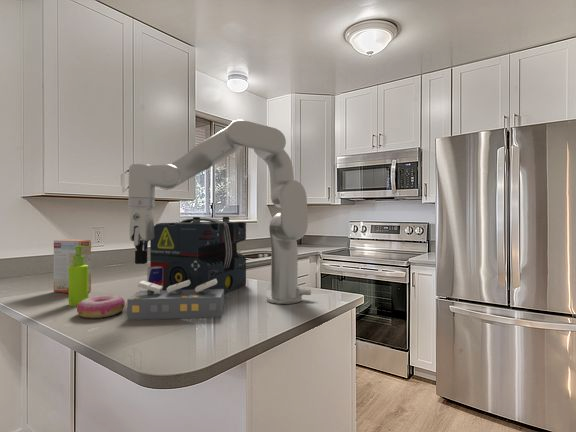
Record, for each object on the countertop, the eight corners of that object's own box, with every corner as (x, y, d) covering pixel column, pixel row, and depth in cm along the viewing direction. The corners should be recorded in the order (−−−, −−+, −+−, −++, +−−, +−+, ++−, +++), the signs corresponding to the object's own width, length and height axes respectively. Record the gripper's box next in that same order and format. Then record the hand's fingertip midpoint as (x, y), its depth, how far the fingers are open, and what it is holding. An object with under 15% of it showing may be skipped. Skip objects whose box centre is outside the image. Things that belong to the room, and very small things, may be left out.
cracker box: (92, 291, 143) (91, 239, 143) (78, 294, 137) (78, 240, 137) (67, 289, 148) (66, 238, 148) (52, 292, 142) (52, 239, 142)
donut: (107, 306, 120) (107, 291, 120) (134, 311, 114) (134, 296, 114) (67, 316, 108) (67, 300, 108) (94, 323, 102) (94, 305, 102)
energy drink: (158, 303, 124) (157, 268, 124) (144, 302, 125) (144, 268, 125) (166, 299, 130) (166, 266, 129) (152, 298, 131) (152, 266, 131)
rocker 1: (162, 290, 113) (163, 285, 113) (158, 292, 109) (160, 288, 109) (141, 284, 112) (142, 279, 112) (137, 286, 108) (139, 282, 109)
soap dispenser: (94, 303, 124) (93, 245, 124) (71, 306, 119) (71, 247, 119) (88, 300, 128) (88, 244, 128) (66, 303, 123) (66, 246, 123)
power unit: (149, 293, 140) (149, 217, 140) (194, 281, 166) (194, 216, 165) (209, 299, 129) (208, 217, 129) (246, 285, 155) (246, 216, 155)
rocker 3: (217, 281, 115) (215, 277, 115) (216, 284, 111) (214, 280, 111) (198, 289, 114) (196, 285, 114) (196, 292, 110) (194, 288, 110)
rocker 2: (190, 283, 114) (189, 279, 114) (188, 285, 110) (187, 281, 110) (170, 289, 113) (169, 285, 113) (167, 292, 109) (166, 288, 109)
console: (223, 306, 119) (223, 284, 119) (220, 317, 107) (220, 292, 107) (140, 309, 116) (140, 286, 116) (127, 320, 104) (127, 294, 104)
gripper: (147, 203, 103) (146, 266, 103) (160, 205, 118) (159, 260, 118) (120, 203, 103) (119, 267, 103) (136, 204, 117) (136, 260, 117)
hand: (141, 263), depth 110 cm, fingers closed
